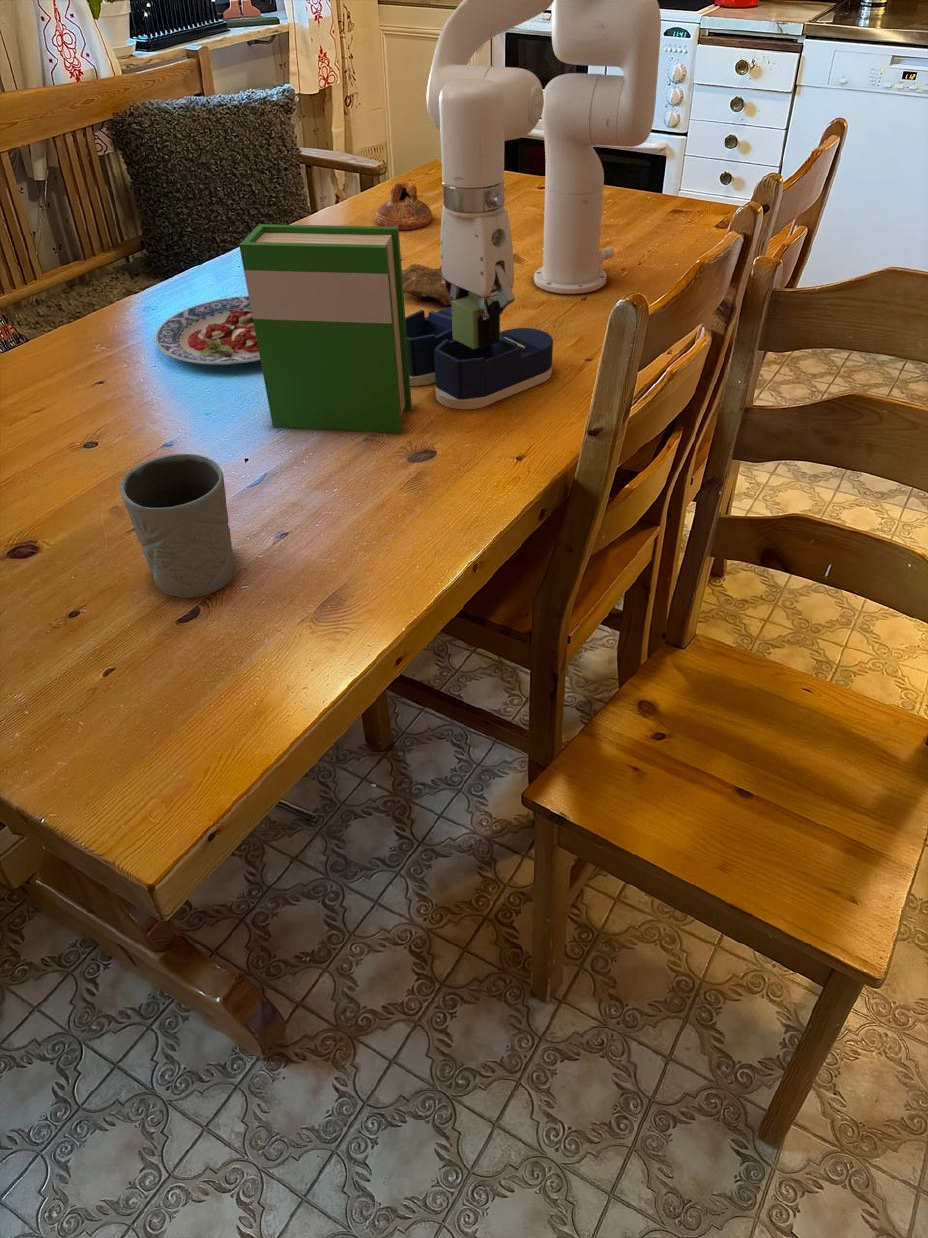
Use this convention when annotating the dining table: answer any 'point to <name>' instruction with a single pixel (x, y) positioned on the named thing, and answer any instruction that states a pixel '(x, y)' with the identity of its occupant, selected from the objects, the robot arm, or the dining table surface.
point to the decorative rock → (425, 283)
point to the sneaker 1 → (426, 342)
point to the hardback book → (330, 325)
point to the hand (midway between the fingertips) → (476, 336)
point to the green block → (467, 320)
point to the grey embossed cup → (181, 522)
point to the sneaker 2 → (491, 368)
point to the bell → (403, 208)
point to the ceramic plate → (211, 333)
